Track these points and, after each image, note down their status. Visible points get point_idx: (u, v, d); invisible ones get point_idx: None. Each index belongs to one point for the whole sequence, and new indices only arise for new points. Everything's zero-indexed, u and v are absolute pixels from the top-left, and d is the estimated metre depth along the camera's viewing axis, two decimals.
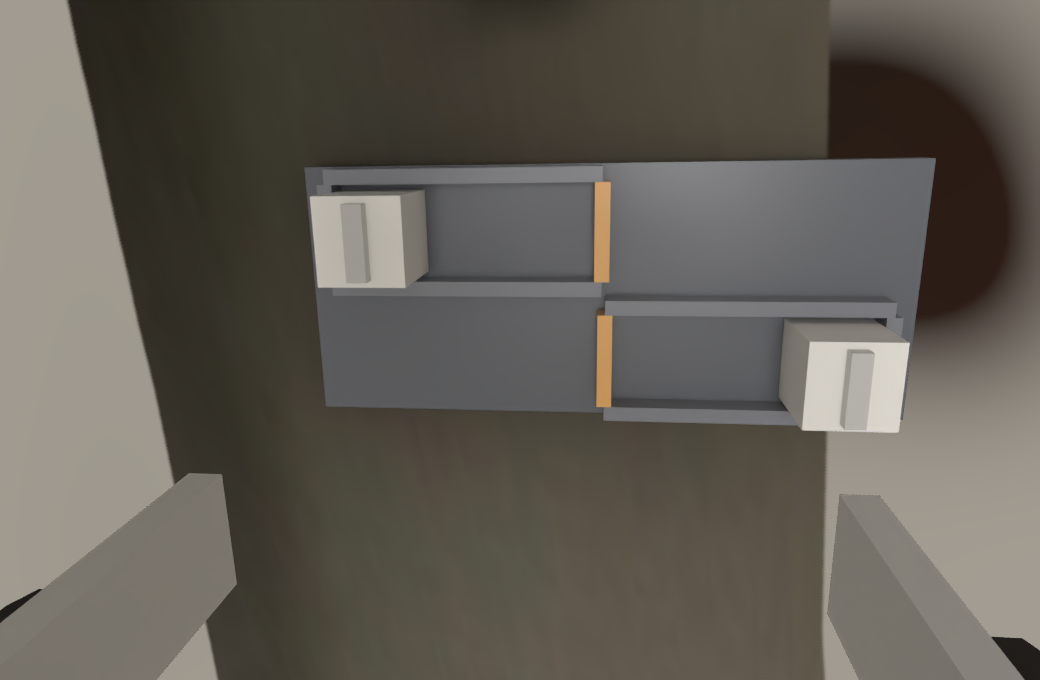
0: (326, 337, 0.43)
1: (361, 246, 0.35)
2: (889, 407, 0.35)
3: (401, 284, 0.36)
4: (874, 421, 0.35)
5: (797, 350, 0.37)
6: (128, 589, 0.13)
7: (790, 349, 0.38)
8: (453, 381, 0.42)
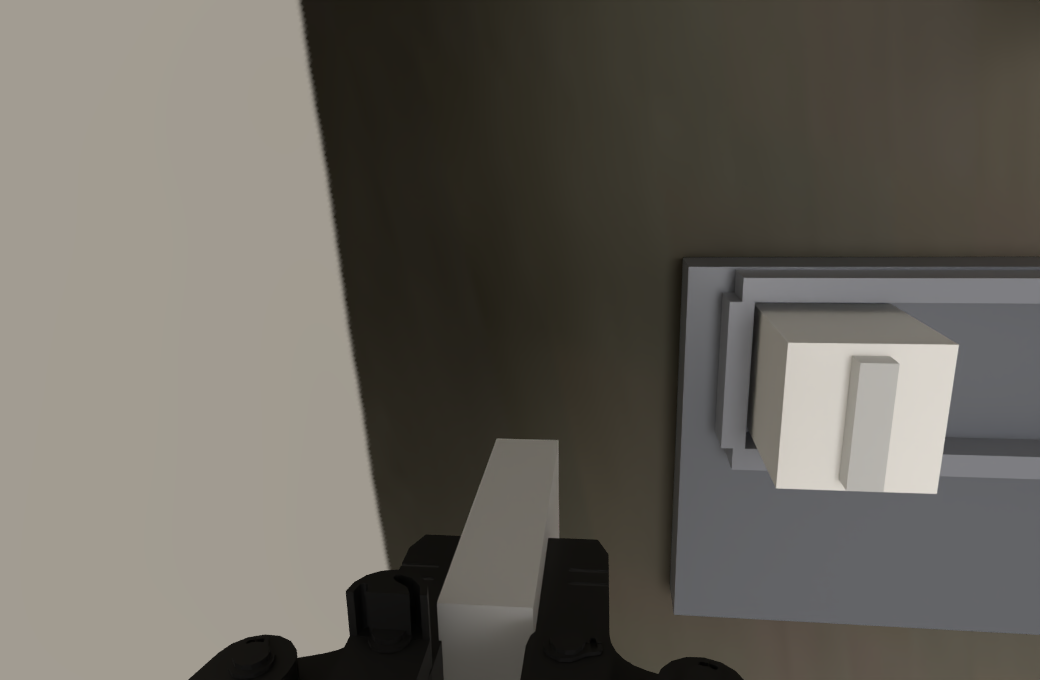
0: (688, 519, 0.28)
1: (887, 432, 0.20)
2: None
3: (930, 488, 0.21)
4: None
5: None
6: None
7: None
8: (886, 586, 0.28)
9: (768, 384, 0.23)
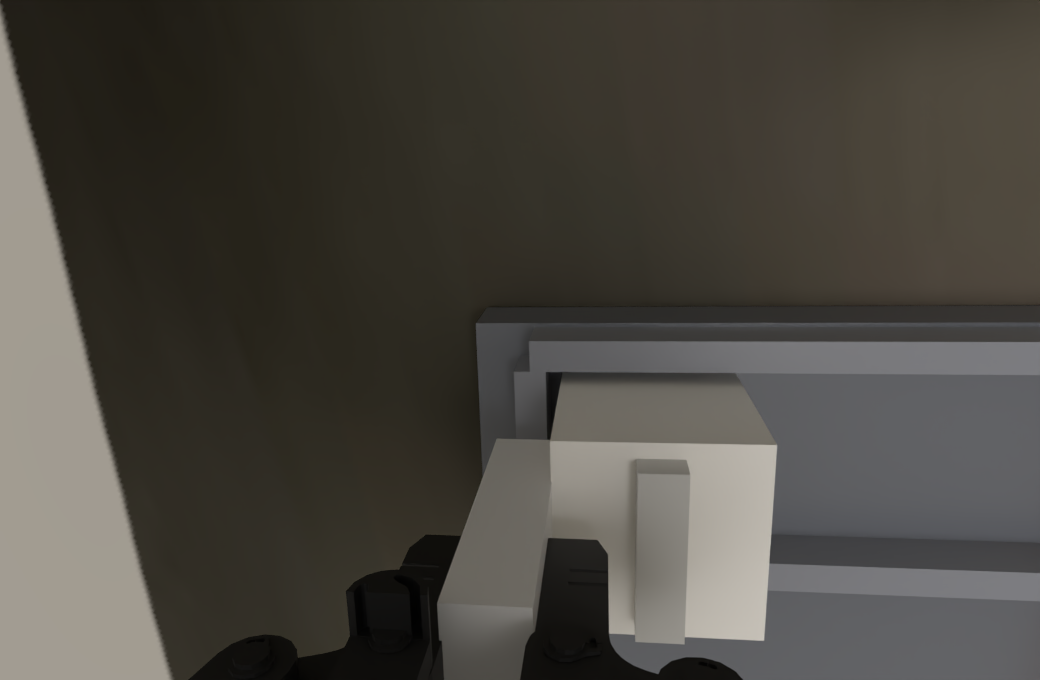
0: None
1: (682, 566, 0.14)
2: None
3: (755, 633, 0.15)
4: None
5: None
6: None
7: None
8: None
9: None
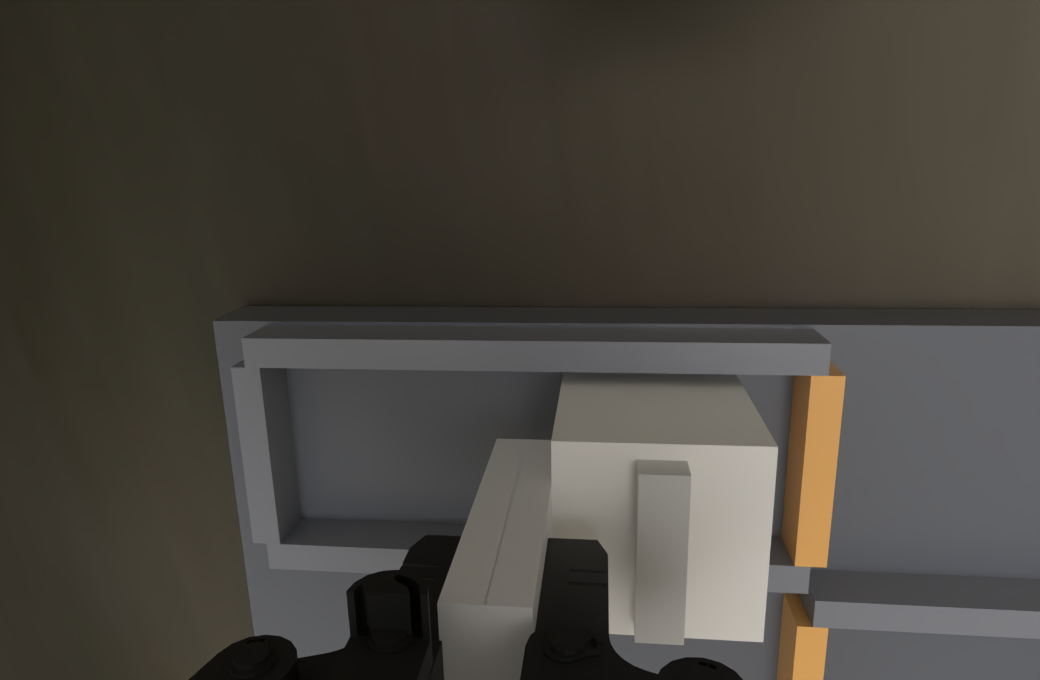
0: (264, 619, 0.23)
1: (682, 566, 0.14)
2: None
3: (754, 634, 0.15)
4: None
5: None
6: None
7: None
8: None
9: None
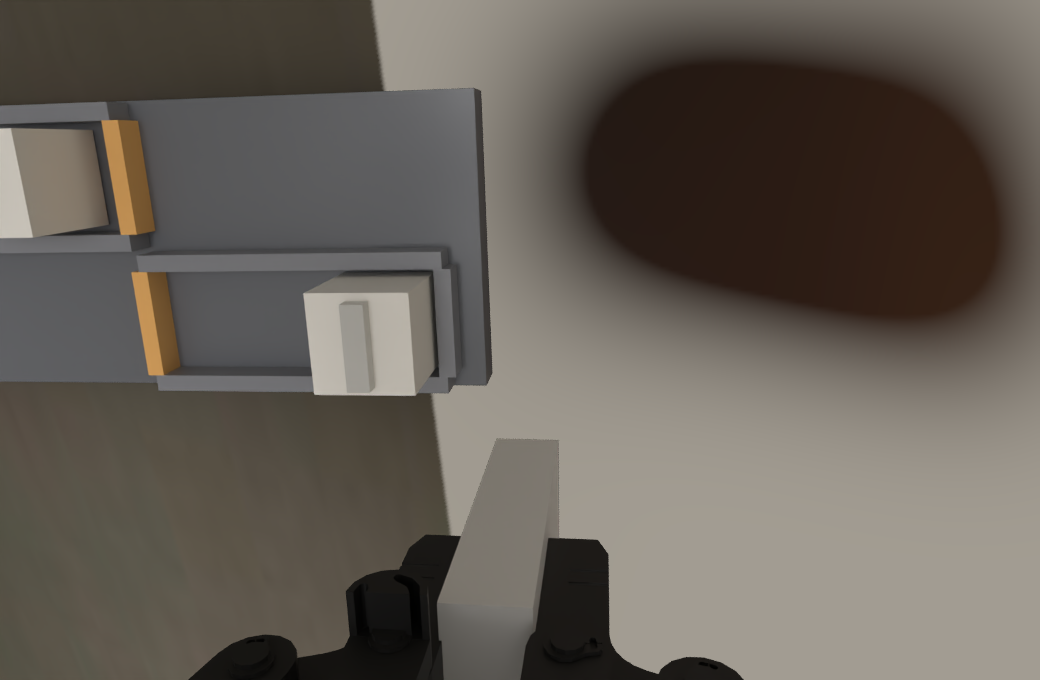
0: None
1: None
2: (400, 367, 0.31)
3: (28, 233, 0.31)
4: (387, 383, 0.31)
5: None
6: None
7: None
8: (15, 350, 0.38)
9: None
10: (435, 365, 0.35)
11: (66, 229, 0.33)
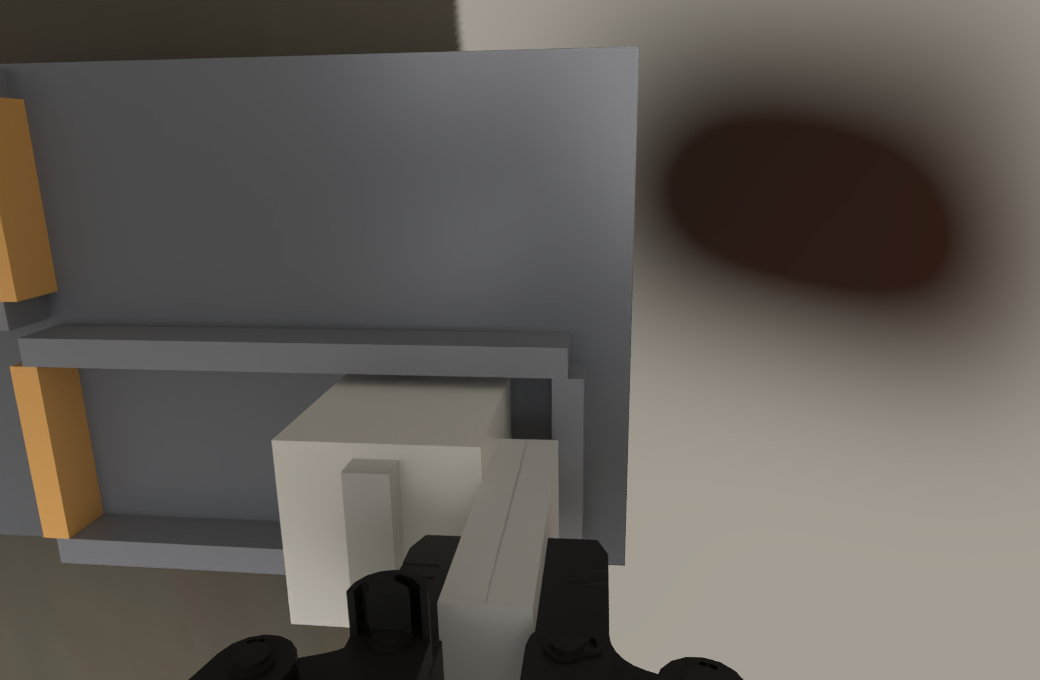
0: None
1: None
2: None
3: None
4: None
5: None
6: None
7: None
8: None
9: None
10: None
11: None
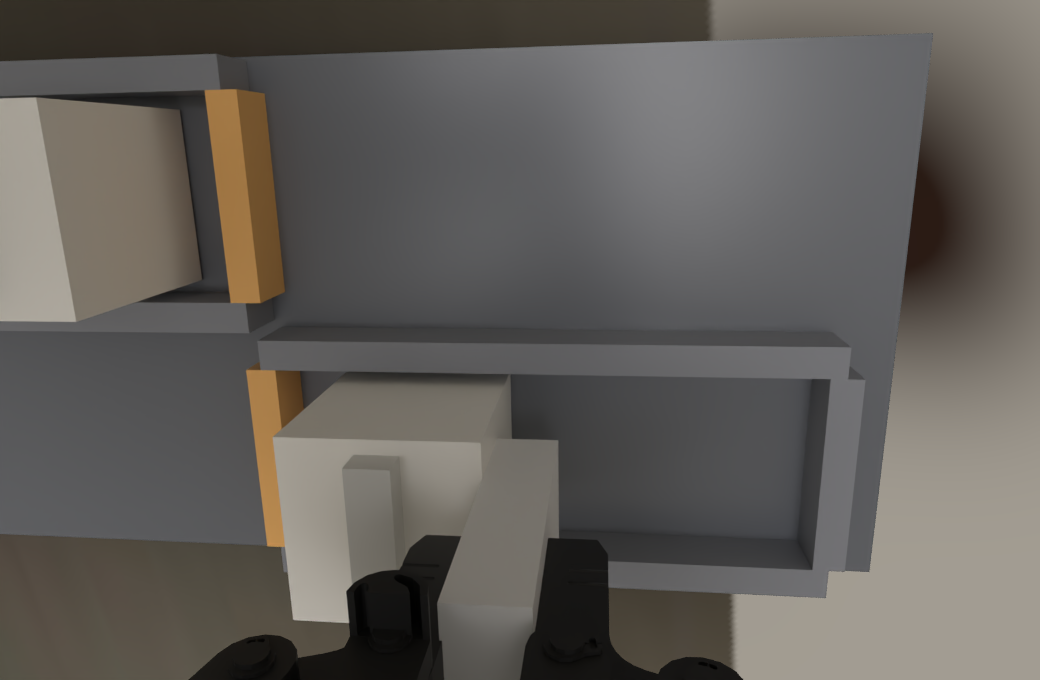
0: None
1: None
2: None
3: (66, 313, 0.15)
4: None
5: None
6: None
7: None
8: (30, 485, 0.23)
9: None
10: None
11: (135, 297, 0.17)
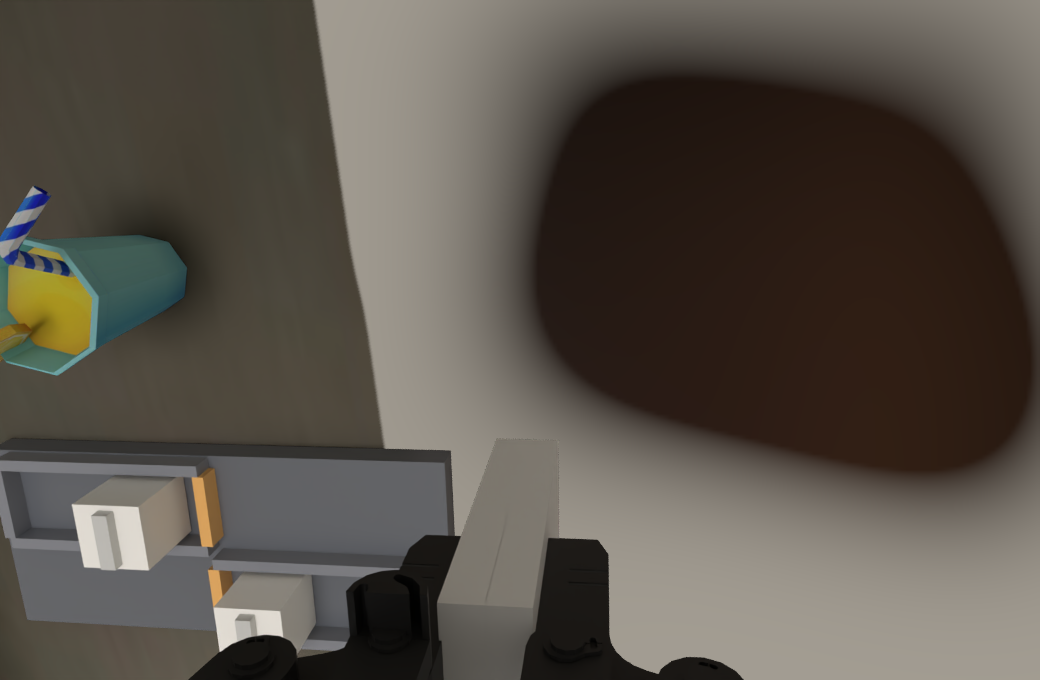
0: (21, 570, 0.54)
1: (109, 544, 0.46)
2: None
3: (145, 567, 0.47)
4: None
5: None
6: None
7: None
8: (120, 605, 0.54)
9: None
10: (310, 630, 0.51)
11: (167, 551, 0.49)
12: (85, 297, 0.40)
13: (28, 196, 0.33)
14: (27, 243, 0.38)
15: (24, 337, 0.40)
